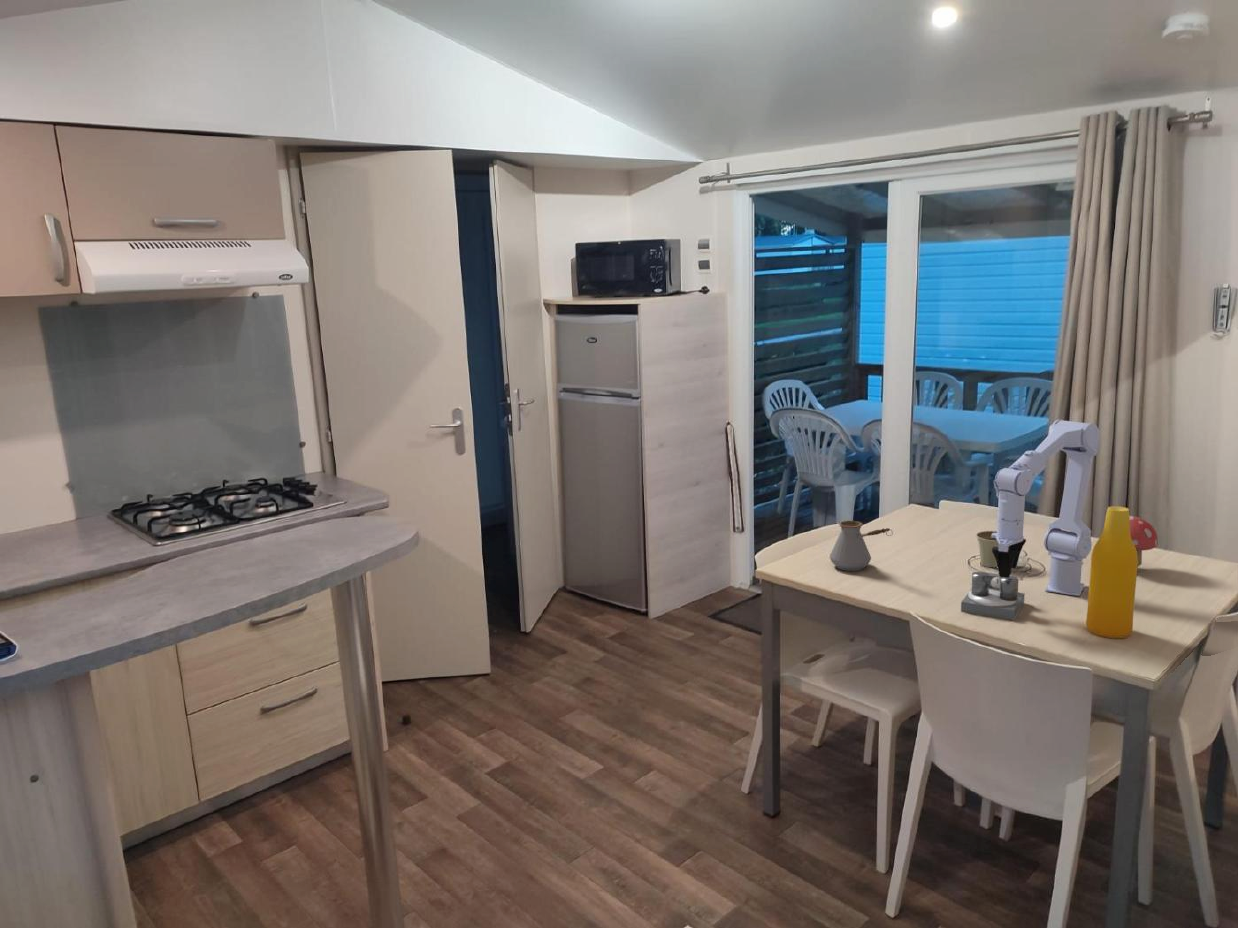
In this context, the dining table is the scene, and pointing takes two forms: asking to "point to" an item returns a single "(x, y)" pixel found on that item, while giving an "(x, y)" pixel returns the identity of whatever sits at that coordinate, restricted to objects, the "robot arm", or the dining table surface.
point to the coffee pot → (852, 547)
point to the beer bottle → (1113, 578)
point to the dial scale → (992, 602)
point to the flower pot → (987, 548)
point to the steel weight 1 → (980, 584)
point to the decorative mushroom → (1142, 536)
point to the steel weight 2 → (1009, 588)
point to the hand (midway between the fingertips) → (1007, 572)
